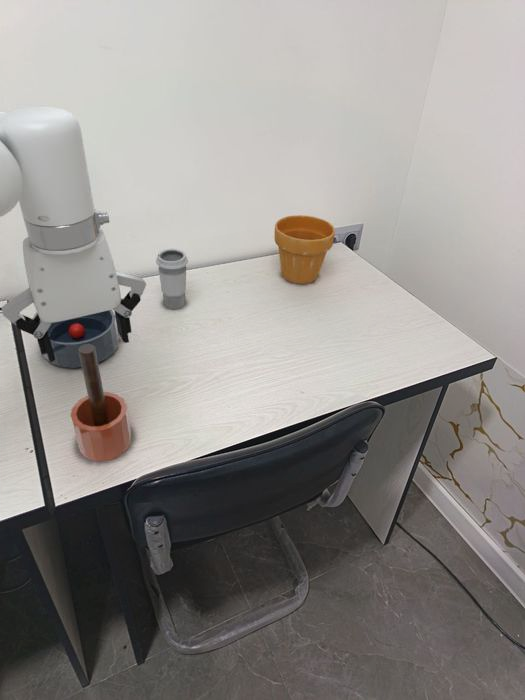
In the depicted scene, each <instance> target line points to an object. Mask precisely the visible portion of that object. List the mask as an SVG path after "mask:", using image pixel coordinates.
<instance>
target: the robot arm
mask: <svg viewBox="0 0 525 700" xmlns="http://www.w3.org/2000/svg"><path fill="white" fill-rule="evenodd" d="M84 145H85V144H84V140H83V134H82V130H81V125H80V123H79V121H78V119H77V118H76V116H75V115H74V114H73V113H72V112H70V111H69V110H67V109H65V108H60V107H56V106H50V105H49V106H46V105H36V106H33V105H32V106H24V107H19V108H16V109H13V110H9V111H5V110H4V111H3V110H2V111H0V218H2V217H3V216H6V215H7V214H8V213H10V212H11V211H12V210H13V209H14V208H15V207H16V206H17V204H18V203H19V206H20V207H19V208H20V210H21V214H22V218H23V222H24V226H25V229H26V233H27V237H25V238H24V239H23V241H22V254H23V263H24V269H25V270H24V271H25V275H26V279H27V283H28V288H26V289H25V290H24V291H22V292H21V293H19V294H18V295H17V296H15V297H14V298H12V299H10V300H9V301H7V303H5V304H4V305H2V306H1V312H2V315H3V317H4V318H5V319H7V320H8V321H9V322H10V323H11V324H13V325H14V326H16V328H17V329H18V330H20V331H23V332H25V333H27V334H29V335H31V336H33V338H35V339H36V340H37V343H38V347H39V350H40V354H41V355H42V356H43V354H48V357H49V360H50V362H53V361H54V360H56V359H55V356H54V352H53V348H52V345H51V341H50V338H49V335H48V332H47V330H48V328H49V327H50V325H51V324H52V323H54V322H60V321H64V320H69V319H73V318H78V317H82V316H87V315H91V314H95V313H100V312H104V311H108V310H112V311H113V312H114V315H115V317H116V324H117V331H118V336H119V337H120V339H121V342H122V343H125V344H127V343H130V338H129V334H130V333H132V326H131V325H132V324H131V319H130V317H131V316H132V315H133V311H134V309H135V308H137V306H138V304H139V303H140V302H141V301H142V300H141V297H142V296H143V294H144V291H145V289H146V286H147V283H146V281H145V279H144V278H143V277H142V276H137V275H133V274H130V273H126V272H121V271H117V270H116V267H115V264H114V259H113V256H112V254H111V250H110V247H109V243H108V241H107V239H106V235H105V234H104V231H103V229H102V228H101V226H103V225H104V224H109V223H110V217H109V213H108V211H97V210H96V208H95V206H94V205H95V204H94V199H93V194H92V188H91V187H92V186H91V180H90V176H89V170H88V163H87V158H86V152H85V147H84ZM120 286H123V287H127V288H130V290H129V291H128V293H126V295H125V296H124V297H123V298H122V295H121V289H120ZM31 304H33V305H34V308H35V311H36V312H35V314H34V315H33V317H32V318H31V317H29V316H26V315H24V314H22V313H21V312H22V311H23V310H25V309H26V308H27V307H29V306H31ZM50 362H49V363H50Z"/></svg>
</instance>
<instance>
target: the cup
mask: <svg viewBox="0 0 525 700" xmlns="http://www.w3.org/2000/svg"><path fill="white" fill-rule="evenodd" d="M188 262H189V259H188V257H187V255H186V253H185V252H184V251H183V250H181V249H178V248H166V249H163V250H160V251H159V252H158V254H157V257H156V259H155V263H156V265H157V266H158V274H159V281H160V282H159V283H160V288H161V294H162V299H163V305H164V307H165V308H167V309H170V310H178V309H181V308H183V307H185V305H186V291H187V265H188V264H189V263H188Z"/></svg>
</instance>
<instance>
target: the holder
mask: <svg viewBox="0 0 525 700" xmlns="http://www.w3.org/2000/svg"><path fill="white" fill-rule="evenodd" d="M103 392H104V397H105V403H106V408H107V413H108V419H109V424H106V425H103V426H94V421H93V417H92V412H91V407H90V403H89V398H88V395H85V396H83V397H82V398H80V399H79V400H78V401H77V402H76V403H75V404H74V405H73V407H72V409H71V412H70V419H71V424H72V427H73V431H74V434H75V438H76V442H77V446H78V450H79V452H80V454H81V455H82V456H83V457H84V458H86V459H88V460H90V461H93V462H107V461H112V460H114V459H116V458H119V457H120V456H122V455H123V454H124V453H125V452H126V451H127V450H128V449H129V447H130V445H131V442H132V430H131V425H130V417H129V411H128V405H127V403H126V400H125V399H124V398H123V397H121V396H120V395H119V394H116V393H113V392H108V391H103Z"/></svg>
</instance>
